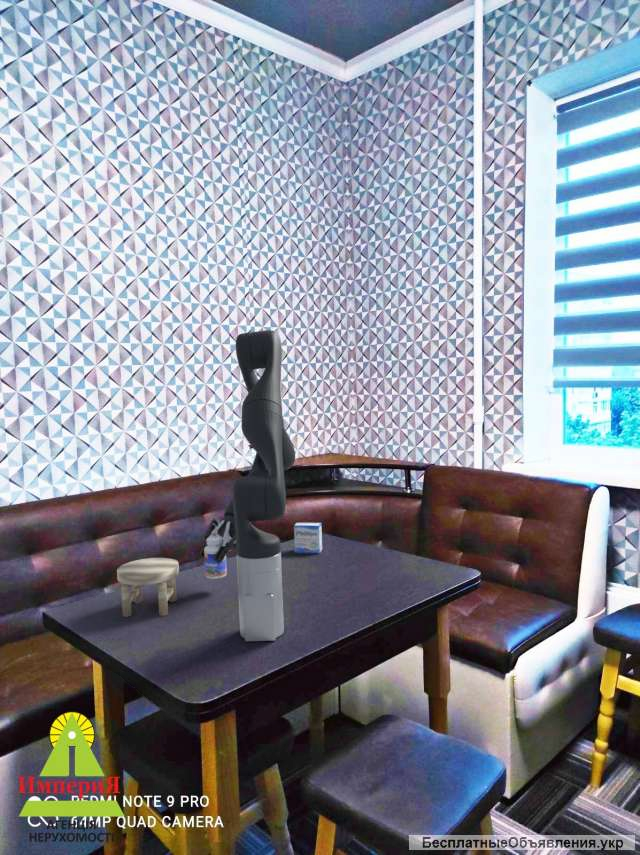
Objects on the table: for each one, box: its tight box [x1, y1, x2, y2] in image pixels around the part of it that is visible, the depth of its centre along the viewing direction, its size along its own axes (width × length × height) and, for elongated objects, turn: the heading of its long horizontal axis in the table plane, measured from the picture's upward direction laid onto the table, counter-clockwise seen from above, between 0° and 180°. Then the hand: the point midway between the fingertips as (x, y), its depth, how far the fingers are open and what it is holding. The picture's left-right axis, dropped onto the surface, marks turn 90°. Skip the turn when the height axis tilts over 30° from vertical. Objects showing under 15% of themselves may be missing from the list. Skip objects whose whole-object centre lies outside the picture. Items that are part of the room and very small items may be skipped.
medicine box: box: [293, 522, 323, 554], centre depth 185 cm, size 8×4×9 cm, turn 80°
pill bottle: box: [204, 535, 228, 580], centre depth 152 cm, size 5×5×10 cm
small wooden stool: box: [116, 557, 180, 618], centre depth 143 cm, size 14×14×10 cm
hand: (209, 559), depth 151 cm, fingers closed on pill bottle, 5 cm apart
